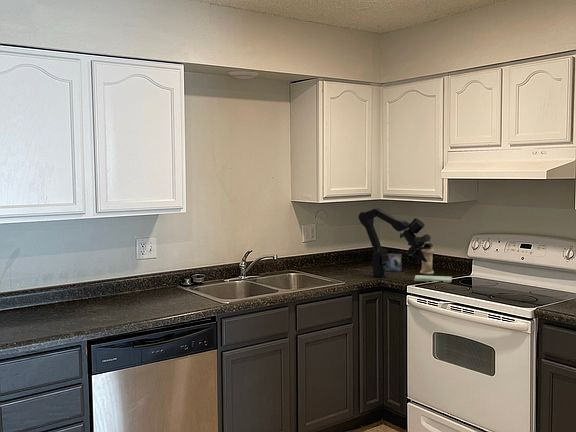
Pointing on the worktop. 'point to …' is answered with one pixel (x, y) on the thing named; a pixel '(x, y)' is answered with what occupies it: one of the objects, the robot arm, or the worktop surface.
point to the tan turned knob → (428, 264)
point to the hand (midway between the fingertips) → (429, 260)
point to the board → (432, 278)
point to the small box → (394, 263)
